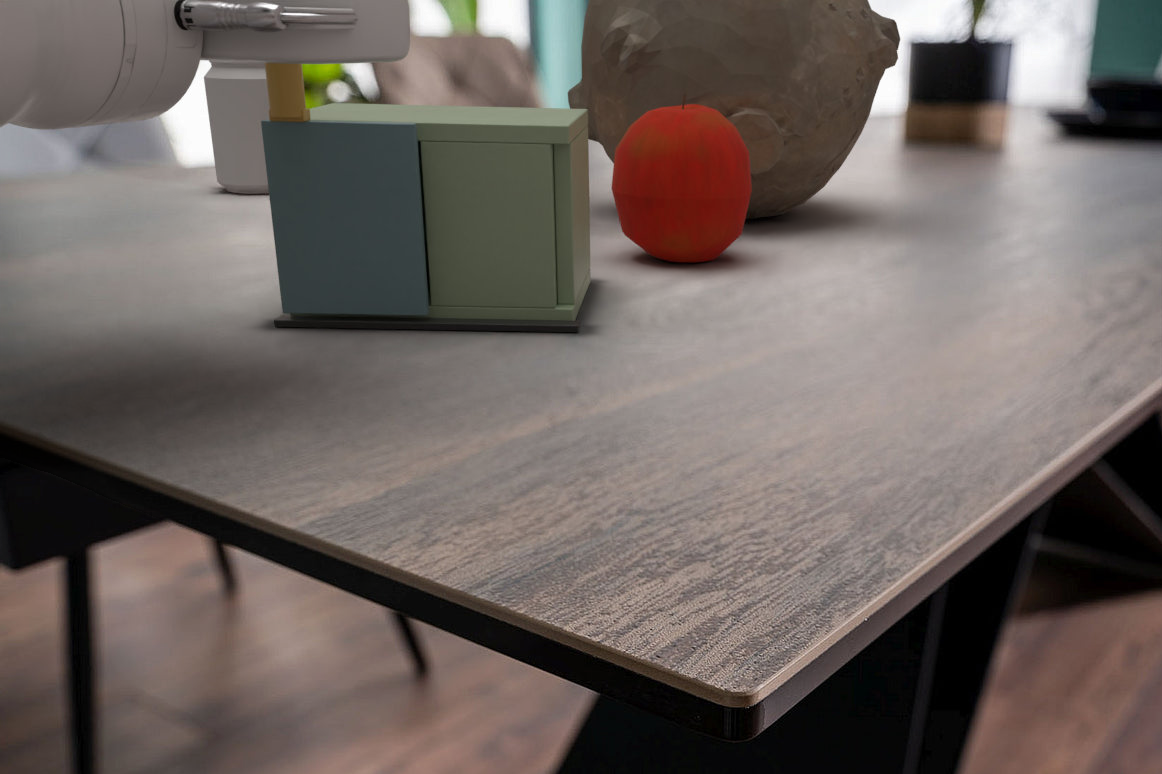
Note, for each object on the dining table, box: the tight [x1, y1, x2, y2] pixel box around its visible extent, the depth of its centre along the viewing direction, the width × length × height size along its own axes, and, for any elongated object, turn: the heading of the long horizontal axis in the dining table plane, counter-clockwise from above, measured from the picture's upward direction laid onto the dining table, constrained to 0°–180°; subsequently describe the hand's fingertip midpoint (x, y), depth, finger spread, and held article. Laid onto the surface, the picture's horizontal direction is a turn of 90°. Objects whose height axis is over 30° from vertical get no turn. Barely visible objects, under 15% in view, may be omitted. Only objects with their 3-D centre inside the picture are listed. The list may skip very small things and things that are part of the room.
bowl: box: [567, 0, 901, 220], centre depth 104 cm, size 27×29×20 cm
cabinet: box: [269, 102, 592, 333], centre depth 70 cm, size 17×14×11 cm
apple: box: [611, 94, 752, 263], centre depth 85 cm, size 10×10×12 cm
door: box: [261, 63, 429, 316], centre depth 62 cm, size 8×2×20 cm, turn 91°
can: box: [203, 61, 270, 195], centre depth 112 cm, size 8×8×12 cm
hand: (288, 14), depth 61 cm, fingers closed on door, 2 cm apart
